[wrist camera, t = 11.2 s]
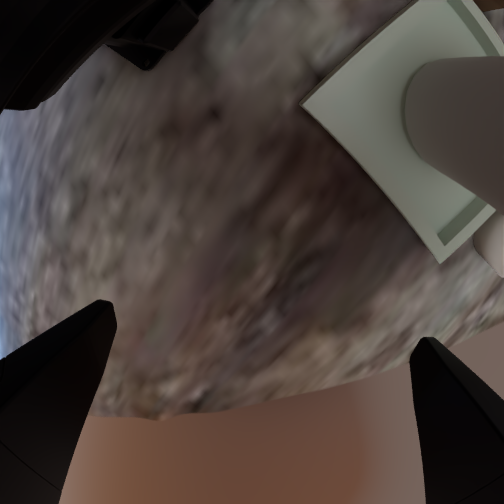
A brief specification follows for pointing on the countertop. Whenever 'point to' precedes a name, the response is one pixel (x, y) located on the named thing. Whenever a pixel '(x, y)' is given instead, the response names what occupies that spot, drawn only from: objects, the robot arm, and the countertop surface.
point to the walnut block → (489, 4)
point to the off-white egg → (491, 242)
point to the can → (461, 122)
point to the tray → (393, 114)
